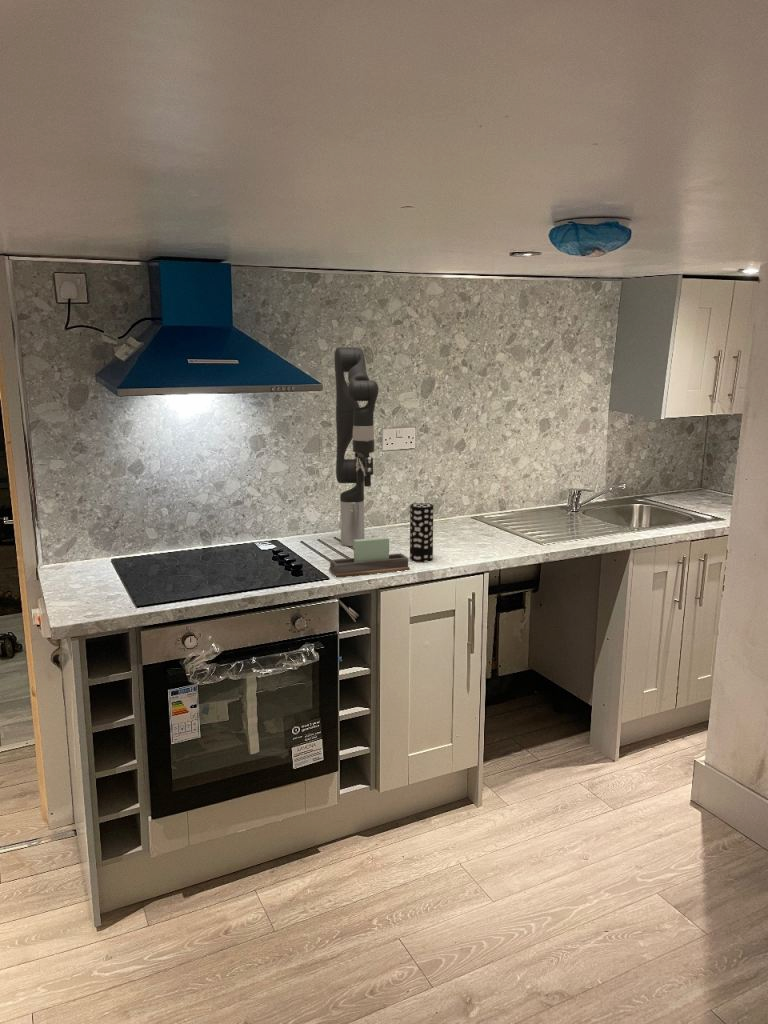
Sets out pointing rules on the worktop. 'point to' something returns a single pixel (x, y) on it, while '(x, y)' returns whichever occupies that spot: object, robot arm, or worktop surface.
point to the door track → (368, 566)
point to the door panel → (371, 549)
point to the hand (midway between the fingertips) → (363, 484)
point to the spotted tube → (421, 532)
